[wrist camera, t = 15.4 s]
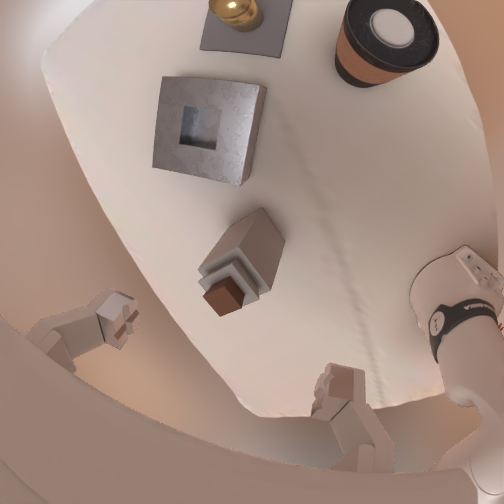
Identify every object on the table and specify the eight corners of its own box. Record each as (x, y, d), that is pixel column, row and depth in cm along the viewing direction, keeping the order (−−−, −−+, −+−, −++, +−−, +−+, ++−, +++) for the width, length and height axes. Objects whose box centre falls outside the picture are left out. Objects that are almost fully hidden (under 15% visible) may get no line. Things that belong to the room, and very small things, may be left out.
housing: (266, 88, 34) (259, 85, 30) (249, 177, 41) (240, 186, 37) (178, 78, 36) (162, 76, 31) (168, 160, 43) (152, 167, 39)
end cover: (266, 5, 27) (252, -15, 20) (260, 33, 29) (246, 17, 23) (232, 4, 28) (212, -15, 21) (227, 31, 30) (205, 17, 23)
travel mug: (348, 96, 32) (376, 82, 15) (323, 50, 30) (324, -3, 13) (394, 81, 29) (457, 60, 12) (370, 35, 27) (408, -21, 10)
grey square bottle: (229, 226, 46) (182, 290, 31) (262, 207, 43) (226, 267, 28) (252, 258, 48) (218, 330, 33) (285, 241, 45) (263, 314, 30)
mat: (294, -8, 25) (294, -10, 25) (280, 58, 32) (279, 57, 31) (216, -13, 27) (214, -15, 26) (201, 50, 33) (199, 49, 32)
